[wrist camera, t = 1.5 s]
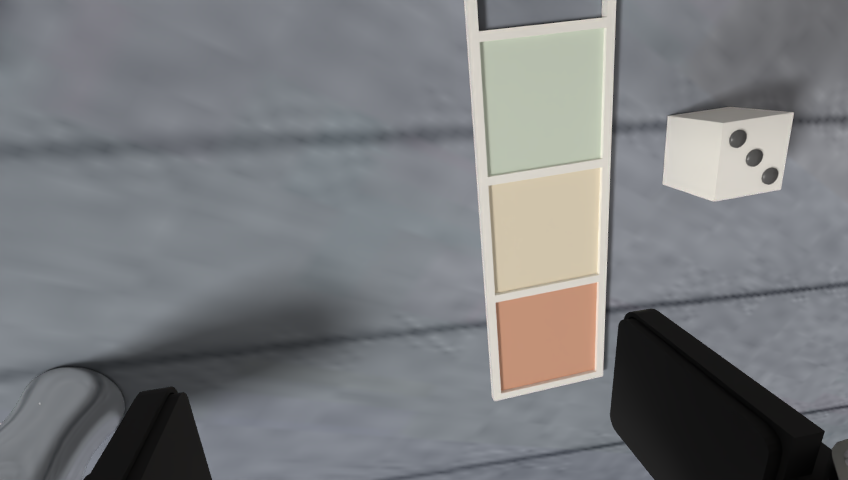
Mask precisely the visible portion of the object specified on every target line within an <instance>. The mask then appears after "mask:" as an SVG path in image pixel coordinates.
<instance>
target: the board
mask: <svg viewBox="0 0 848 480" xmlns="http://www.w3.org/2000/svg"><path fill="white" fill-rule="evenodd" d="M464 6H465V20H466V34H467V48H468V62H469V77H470V91H471V105H472V119H473V133H474V148H475V162H476V176H477V190H478V204H479V219H480V233H481V247H482V261H483V275H484V290H485V304H486V318H487V332H488V346H489V361H490V375H491V389H492V397H493V399H494V401H497V400H502V399H506V398H510V397H515V396H519V395H523V394H528V393H532V392H536V391H541V390H545V389H549V388H554V387H558V386H562V385H567V384H571V383H575V382H579V381H584V380H588V379H592V378H597V377H601V376H603V360H604V332H605V303H606V275H607V247H608V219H609V191H610V163H611V135H612V107H613V79H614V51H615V22H616V0H602V18H594V19H585V20H576V21H567V22H558V23H549V24H540V25H531V26H522V27H513V28H504V29H495V30H486V31H479V26H478V10H477V0H464Z"/></svg>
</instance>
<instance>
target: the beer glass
mask: <svg viewBox="0 0 848 480" xmlns="http://www.w3.org/2000/svg"><path fill="white" fill-rule="evenodd" d="M124 411H125V402H124V398H123V395H122V393H121V391H120V390H119V388H118V387H117V386H116V385H115V383H113V382H112V381H111V380H110V379H109V378H107V377H106V376H104V375H102V374H100V373H98V372H96V371H93V370H90V369H86V368H80V367H61V368H56V369H52V370H49V371H46V372H44V373H42V374H40V375H39V376H37V377H35V378H34V379H33V380H32V381H31V382H30V383H29V384H28V385H27V386H26V388H25V389H24V391H23V393H22V394H21V396H20V398H19V400H18V402H17V403H16V405H15V407H14V408H13V410H12V411H11V413H10V414H9V415H8V416H7V417H6V419H5V420H4V421H3V422H2V423H0V480H82V478H83V476H84V473H85V471H86V468H87V465H88V463H89V462H90V460H91V458H92V456H93V454H94V453H95V452H96V450H97V449H98V448H99V446H100V445H101V444H102V443H103V442H104V441H105V440H106V439H107V438H108V437H109V436H110V434H111V433H112V432H113V431H114V430H115V429H116V428H117V426H118V425H119V423H120V422H121V420H122V418H123V415H124Z"/></svg>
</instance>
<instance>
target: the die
mask: <svg viewBox="0 0 848 480" xmlns="http://www.w3.org/2000/svg"><path fill="white" fill-rule="evenodd" d="M793 116H794V112H785V111H773V110H762V109H751V108H739V107H724V108H718V109H711V110H704V111H697V112H690V113H684V114H677V115H670V116H668V120H667V133H666V145H665V158H664V171H663V185H666V186H669V187H672V188H675V189H678V190H681V191H684V192H687V193H690V194H693V195H696V196H699V197H702V198H705V199H708V200H711V201H720V200H725V199H731V198H737V197H742V196H748V195H753V194H759V193H764V192H770V191H775V190H781V185H782V179H783V173H784V168H785V162H786V156H787V150H788V144H789V139H790V133H791V127H792V121H793Z"/></svg>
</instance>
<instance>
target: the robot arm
mask: <svg viewBox="0 0 848 480" xmlns="http://www.w3.org/2000/svg"><path fill="white" fill-rule="evenodd" d="M610 418H611V422H612V425H613V427H614V429H615V431H616V432H617V434H618V435H619V436H620V437H621V439H622V440H623V441H624V442H625V444H626V445H627V446H628V447H629V449H630V450H631V451H632V452H633V454H634V455H635V456H636V457H637V459H638V460H639V461H640V462H641V464H642V465H643V466H644V467H645V468H646V470H647V471H648V472H649V473H650V475H651V476H652V477H653V478H654V480H848V439H846V440H843V441H840V442H837V443H836V444H835V445H834V447H833V448H832V450H831V449H830V448H829V447H827V446H826V445H825V444H823V443H822V439H823V435H824V432H825V431H824V430H822V429H821V428H820V427H818V426H817V425H816V424H814V423H813V422H811V421H810V420H809V419H807V418H806V417H804V416H803V415H802V414H800V413H799V412H797V411H796V410H795V409H793V408H792V407H791V406H789V405H788V404H786V403H785V402H784V401H782V400H781V399H779V398H778V397H777V396H775V395H774V394H772V393H771V392H770V391H768V390H767V389H766V388H764V387H763V386H761V385H760V384H759V383H757V382H756V381H754V380H753V379H752V378H750V377H749V376H747V375H746V374H745V373H743V372H742V371H741V370H739V369H738V368H736V367H735V366H734V365H732V364H731V363H729V362H728V361H727V360H725V359H724V358H722V357H721V356H720V355H718V354H717V353H716V352H714V351H713V350H711V349H710V348H709V347H707V346H706V345H704V344H703V343H702V342H700V341H699V340H697V339H696V338H695V337H693V336H692V335H691V334H689V333H688V332H686V331H685V330H684V329H682V328H681V327H679V326H678V325H677V324H675V323H674V322H672V321H671V320H670V319H668V318H667V317H666V316H664V315H663V314H661V313H660V312H659V311H657V310H655V309H646V310H640V311H634V312H629V313H627V314H626V315H625V317H624V320H621V321H620V323H619V326H618V336H617V347H616V358H615V368H614V379H613V389H612V400H611V410H610ZM84 480H212V478H211V475H210V471H209V468H208V464H207V461H206V458H205V454H204V451H203V447H202V444H201V441H200V437H199V434H198V430H197V427H196V423H195V420H194V417H193V413H192V410H191V406H190V403H189V400H188V397H187V395H186V393H184V392H182V393H178V392H177V390H176V389H175V388H174V387H167V388H161V389H154V390H148V391H142V392H140V393H139V394H138V395H137V396H136V398H135V400H134V401H133V403H132V405H131V406H130V408H129V410H128V411H127V413H126V415H125V416H124V418H123V420H122V422H121V423H120V425H119V427H118V428H117V430H116V432H115V433H114V435H113V437H112V438H111V440H110V442H109V443H108V445H107V447H106V448H105V450H104V452H103V453H102V455H101V457H100V458H99V460H98V462H97V463H96V465H95V467H94V468H93V470H92V472H91V473H90V474H89V475H87V476H86V477H85V478H84Z"/></svg>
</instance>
